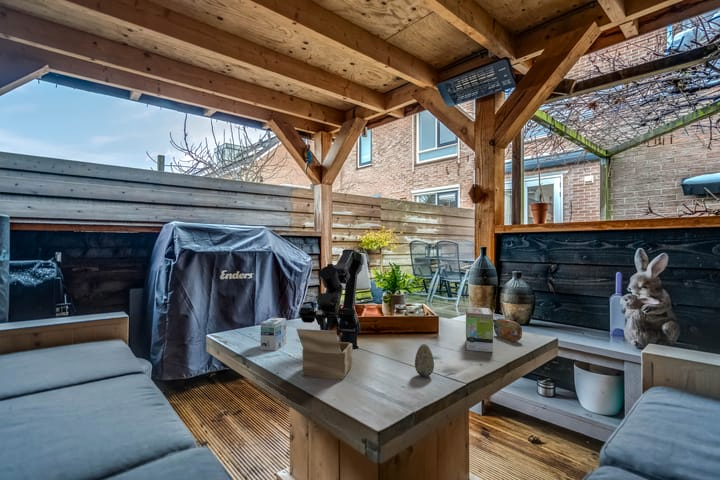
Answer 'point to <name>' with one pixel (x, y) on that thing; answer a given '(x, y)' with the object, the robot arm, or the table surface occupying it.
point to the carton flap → (319, 341)
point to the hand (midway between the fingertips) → (322, 339)
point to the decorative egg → (424, 361)
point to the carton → (328, 363)
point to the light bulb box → (273, 334)
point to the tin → (508, 330)
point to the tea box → (479, 329)
